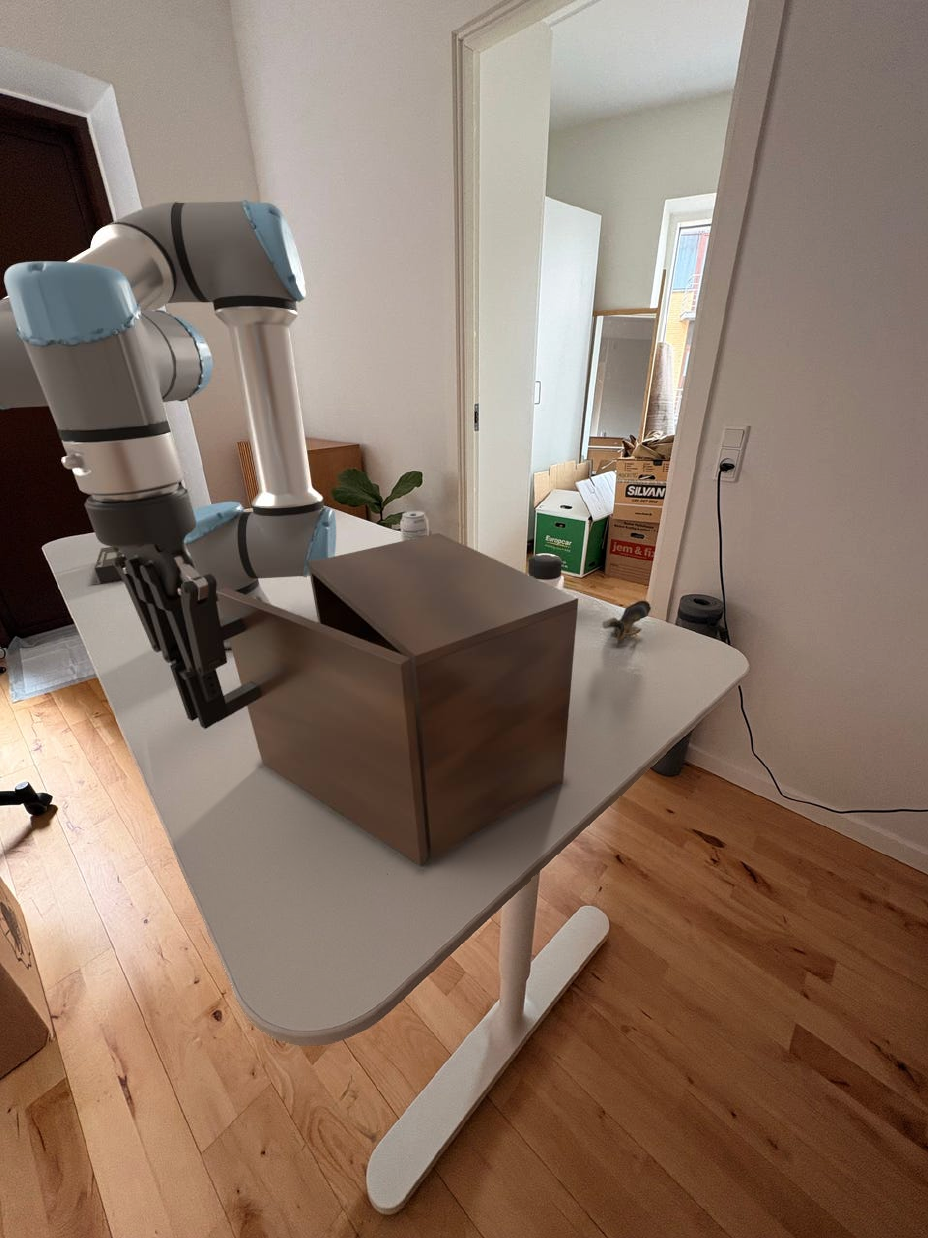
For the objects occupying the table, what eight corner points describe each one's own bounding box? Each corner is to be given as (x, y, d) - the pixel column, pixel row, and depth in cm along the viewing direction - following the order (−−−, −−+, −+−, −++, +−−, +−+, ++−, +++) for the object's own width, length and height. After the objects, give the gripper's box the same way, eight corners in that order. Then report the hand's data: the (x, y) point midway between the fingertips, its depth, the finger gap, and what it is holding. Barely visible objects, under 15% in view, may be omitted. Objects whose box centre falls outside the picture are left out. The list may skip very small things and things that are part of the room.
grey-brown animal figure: (652, 648, 85) (660, 616, 91) (631, 615, 83) (640, 585, 89) (611, 659, 90) (621, 628, 96) (590, 628, 88) (602, 599, 94)
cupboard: (431, 859, 52) (415, 656, 41) (336, 724, 71) (307, 562, 60) (563, 782, 61) (578, 598, 50) (446, 681, 80) (438, 532, 69)
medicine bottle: (560, 625, 95) (564, 565, 90) (522, 622, 97) (523, 563, 91) (562, 608, 101) (565, 551, 96) (525, 606, 103) (527, 549, 97)
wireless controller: (159, 573, 124) (136, 503, 116) (91, 585, 119) (62, 512, 111) (159, 549, 140) (139, 486, 132) (99, 559, 134) (75, 493, 126)
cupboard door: (379, 913, 47) (345, 701, 36) (219, 791, 60) (159, 611, 50) (428, 858, 52) (411, 657, 41) (270, 757, 66) (225, 587, 55)
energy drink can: (433, 573, 120) (429, 509, 113) (429, 583, 114) (425, 517, 107) (408, 573, 120) (402, 509, 113) (402, 583, 115) (396, 517, 108)
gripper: (46, 489, 44) (136, 712, 54) (133, 512, 36) (217, 765, 47) (137, 472, 49) (202, 678, 60) (229, 490, 41) (284, 721, 52)
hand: (208, 716), depth 53 cm, fingers closed on cupboard door, 2 cm apart
